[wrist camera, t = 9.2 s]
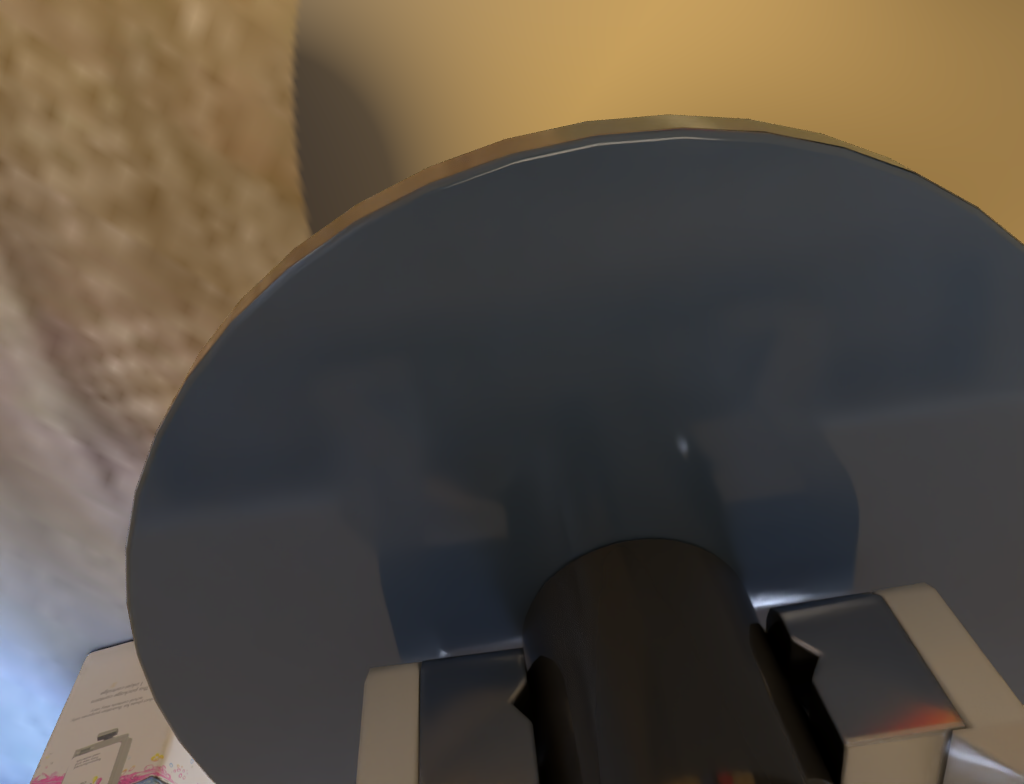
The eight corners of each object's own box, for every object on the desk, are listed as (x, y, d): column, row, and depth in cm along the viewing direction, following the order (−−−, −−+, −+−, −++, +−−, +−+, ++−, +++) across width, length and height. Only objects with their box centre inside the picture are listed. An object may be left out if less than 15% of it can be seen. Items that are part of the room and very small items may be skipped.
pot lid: (645, 902, 14) (723, 1265, 10) (-1, 647, 10) (-246, 1070, 6) (1220, 458, 10) (1663, 769, 7) (549, -183, 7) (701, -292, 3)
